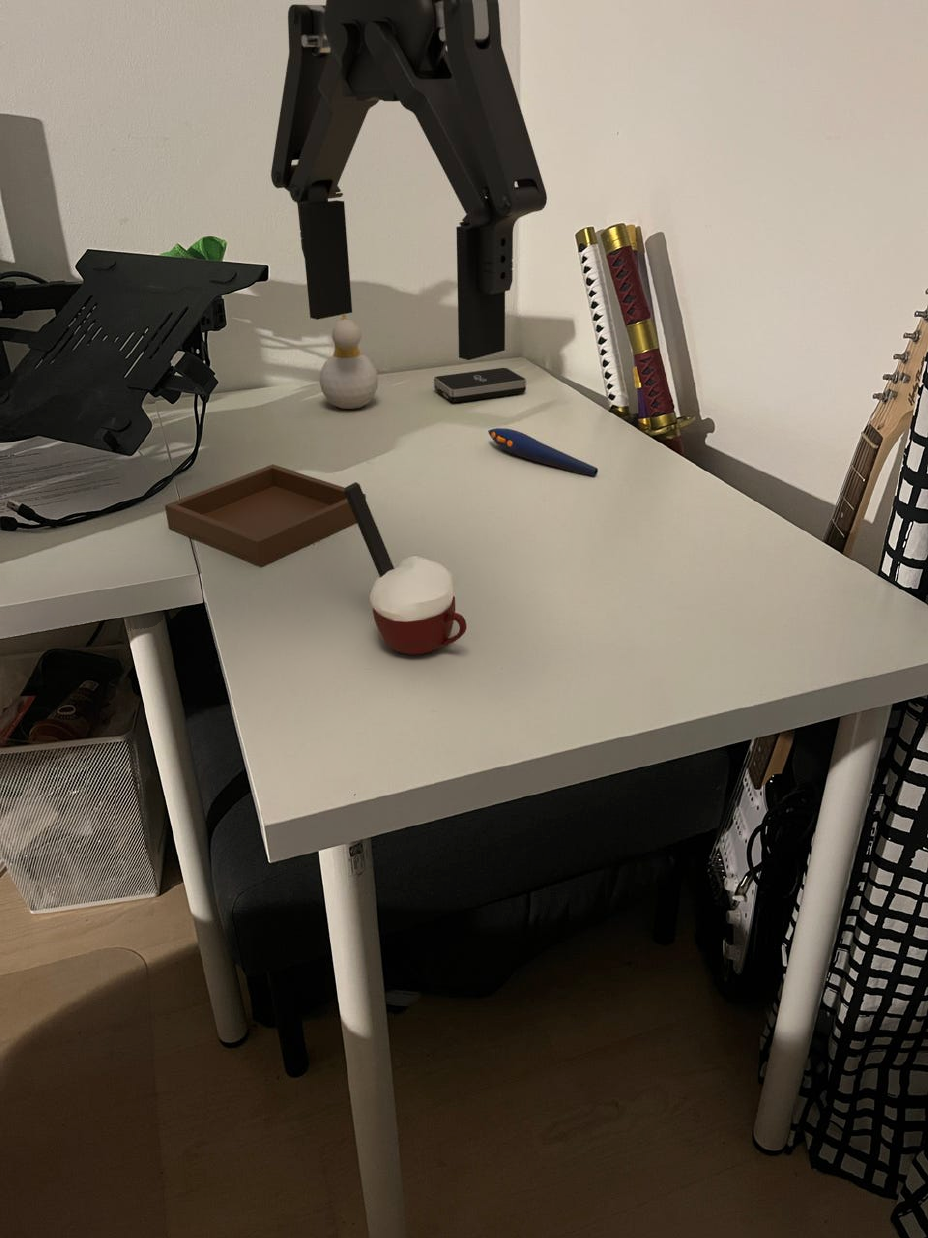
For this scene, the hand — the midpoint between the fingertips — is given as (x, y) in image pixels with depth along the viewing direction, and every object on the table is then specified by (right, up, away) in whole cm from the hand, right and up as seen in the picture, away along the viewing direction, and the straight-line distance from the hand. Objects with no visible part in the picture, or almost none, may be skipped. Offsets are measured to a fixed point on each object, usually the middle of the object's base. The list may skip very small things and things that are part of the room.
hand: (401, 333), depth 56 cm
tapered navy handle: (+12, +1, +52) cm, 54 cm away
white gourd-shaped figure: (-11, +11, +70) cm, 71 cm away
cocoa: (0, -18, +19) cm, 26 cm away
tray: (-15, -7, +38) cm, 42 cm away
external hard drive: (+6, +14, +75) cm, 76 cm away
